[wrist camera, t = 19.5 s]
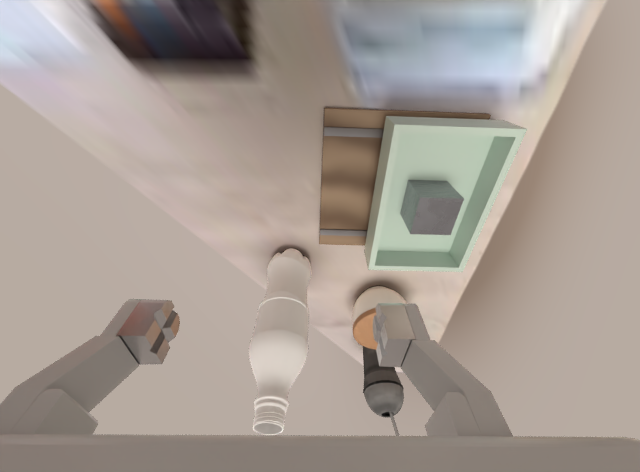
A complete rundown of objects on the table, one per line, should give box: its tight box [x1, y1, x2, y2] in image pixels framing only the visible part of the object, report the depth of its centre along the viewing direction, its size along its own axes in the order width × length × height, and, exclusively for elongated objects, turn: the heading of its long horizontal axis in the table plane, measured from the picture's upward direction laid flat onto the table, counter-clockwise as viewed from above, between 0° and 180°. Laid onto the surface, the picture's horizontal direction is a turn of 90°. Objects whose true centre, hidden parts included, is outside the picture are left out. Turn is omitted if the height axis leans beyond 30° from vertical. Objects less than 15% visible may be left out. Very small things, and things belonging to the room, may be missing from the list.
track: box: [319, 108, 491, 245], centre depth 38 cm, size 20×20×1 cm
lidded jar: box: [352, 286, 407, 350], centre depth 48 cm, size 11×11×9 cm
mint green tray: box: [364, 116, 527, 272], centre depth 35 cm, size 20×14×6 cm
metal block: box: [400, 180, 464, 235], centre depth 34 cm, size 5×5×5 cm
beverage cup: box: [363, 346, 404, 436], centre depth 50 cm, size 7×7×20 cm
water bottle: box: [249, 248, 311, 435], centre depth 36 cm, size 7×7×25 cm
